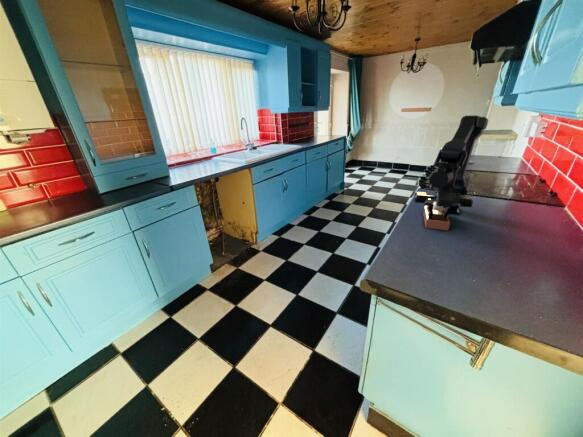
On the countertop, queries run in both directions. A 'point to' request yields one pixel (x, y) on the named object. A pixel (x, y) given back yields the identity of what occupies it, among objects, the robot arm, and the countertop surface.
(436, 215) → the walnut block
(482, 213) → the countertop surface
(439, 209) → the egg
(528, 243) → the countertop surface
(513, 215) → the countertop surface
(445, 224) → the tray
